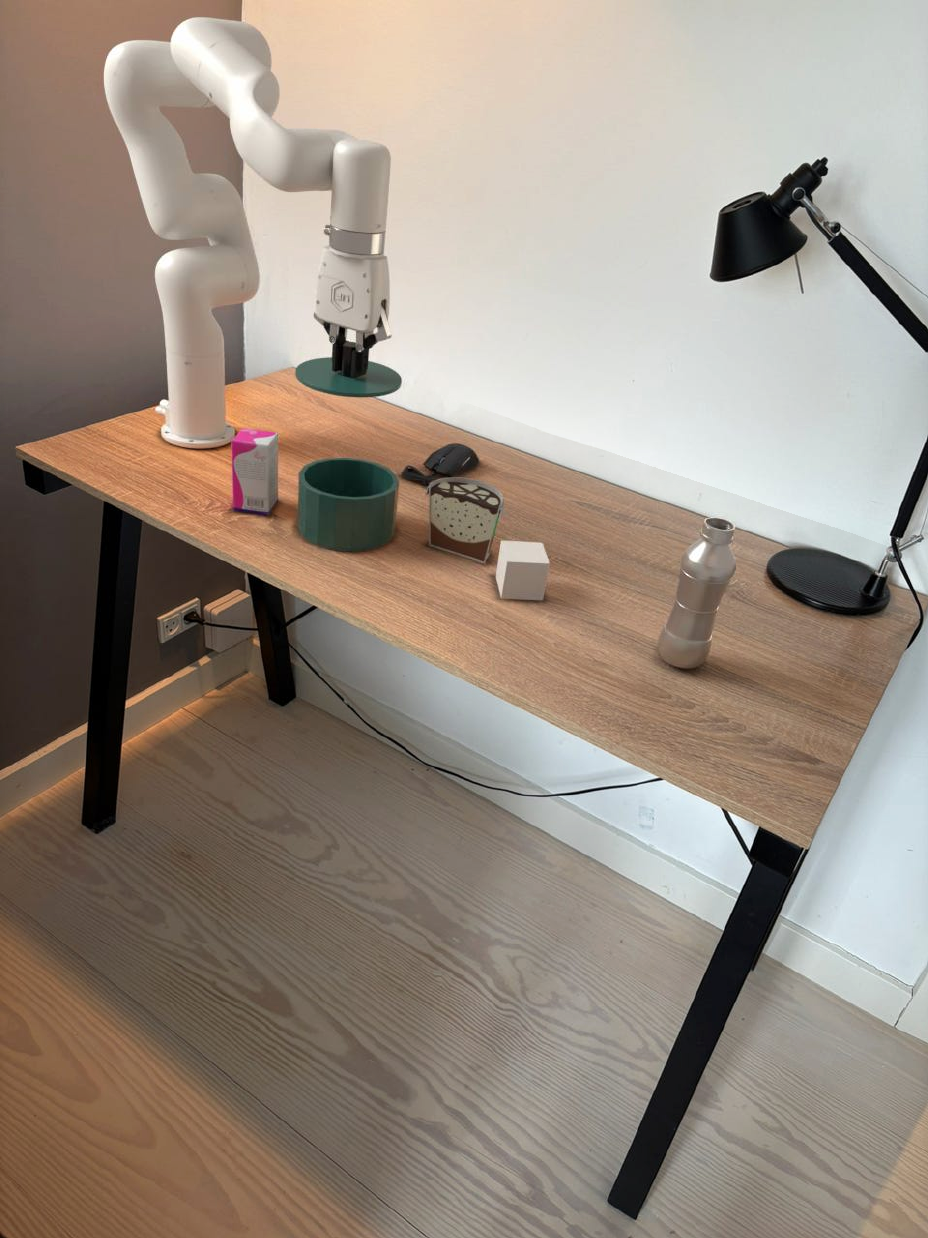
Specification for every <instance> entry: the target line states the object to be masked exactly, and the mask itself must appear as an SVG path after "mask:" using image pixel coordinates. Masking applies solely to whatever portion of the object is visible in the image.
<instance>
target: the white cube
mask: <svg viewBox="0 0 928 1238" xmlns="http://www.w3.org/2000/svg"><path fill="white" fill-rule="evenodd" d="M498 552H499V553H498V559H497V565H496V570H495V571H496V572H495V580H496V584H497V588H498V592H499V595H500V599H501V600H522V601H523V600H524V601H525V600H526V601H544V596H545V592H546V591H545V590H546V585H547V581H548V575H549V569H550V564H551V563H550V560H549V558H548V555H547V552H546V549H545V547H544V544H543V542H538V541H537V542H536V541H520V540H519V541H516V540H500V545H499V551H498Z"/></svg>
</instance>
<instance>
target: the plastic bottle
mask: <svg viewBox="0 0 928 1238" xmlns="http://www.w3.org/2000/svg"><path fill="white" fill-rule="evenodd" d="M735 530H736V525H735V524H734V523H733V522H731V521H730V520H727V519H726V518H722V517H715V516H714V517H713V516H711V517H706V518H705V519H704V520H703V523H702V527H701V529H700V532H699V537H700V538H699V539H697V540H696V541H694V542H693V543H692V544H690V546H689V547H687V548H686V550H685V551H684V553H683V554H682V556H681V562H680V567H679V568H680V570H679V578H678V584H677V589H676V595H675V597H674V598H675V599H674V602H673V605H672V607H671V609H670V612H669V615H668V618H667V620H666V622H665V624H664V626H663V627H662V629H661V631H660V634H659V635H658V641H657V651H658V654H659V656H660V658H661V660H663V661H664V662H665V663H667V664H668V665H670V666H672V667H675V668H680V669H686V670H687V669H695V668H697V667H699V666H700V665H702V664H703V663H705V661H706V660H707V658H708V656H709V654H710V652H711V648H712V641H713V640H712V639H713V630H714V625H715V622H716V617H717V613H718V609H719V608H720V605H721V602H722V600H723V597H724V594H725V593H726V591H727V589H728V587H729V585H730V583H731V581H732V579H733V577H734V574H735V573H736V570H737V560H736V557H735V554H734V552H733V550H732V548H731V545H730V544H731V543H733V540H734V534H735Z"/></svg>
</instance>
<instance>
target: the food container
mask: <svg viewBox="0 0 928 1238" xmlns="http://www.w3.org/2000/svg"><path fill="white" fill-rule="evenodd" d="M437 479H438V478H437ZM424 495H425V496H428V546H429V547H432V548H435V549H438V550H441V551H445V552H448V553H450V554H454V555H456V556H460V557H463V558H465V559H468V560H472V561H474V562H477V563H478V562H479V563H482V564H487V562H488V561H489V557H490V553H491V549H492V545H493V542H494V537H495V534H496V530H497V526H498V523H499V519H503V518H504V517H505V513H506V508H505V507H506V506H505V500H504V495H503V494H502V493H501V491H500V490H499V489H498V488H496V487H495V486H493V485H491V484H489V483H487V482H484V481H482V480H477V479H474V478H468V477H457V476H454V477H451V478H450V477H443V478H439V479H438V480H435V481H432V482H431V483H430V484H429V486H426V491H425V494H424Z"/></svg>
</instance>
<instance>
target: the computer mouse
mask: <svg viewBox="0 0 928 1238" xmlns="http://www.w3.org/2000/svg"><path fill="white" fill-rule="evenodd" d="M479 463H480V458H479V456H478V454H477V453H476V452H475V450H473V449H472V448H471V447H469V446H468V445H465V444H463V443H458V442H453V443H448V444H446V445H444V446H441V447H440V448H438V449H436V450H434V451H433V452H432V453H431V454H430V455H429V456H428V457H427V458H426V459H425V461H424V462H423V466H424V467H425V468H426V469H427V470H429V471H430V472H431V474H430V475H429V474H428V475H426V474H425V473H423V472H422V471H420V470H419V469H417V468H416V467H414V466H412V465H406V466H405V467H404V468H403V470H402V471H401V477H402V478H403V479H405V480H408V481H412V482H416V483H423V484H424V485H425V487H428V486H429V484H430V483H431V482H432V481H435V480H438V478H436V476H442V477H444V478H451V477H457V475H460V474H461V473H464V472H468V471H471V470H473V469H474V468H476V467H477V466H478V465H479Z"/></svg>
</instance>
